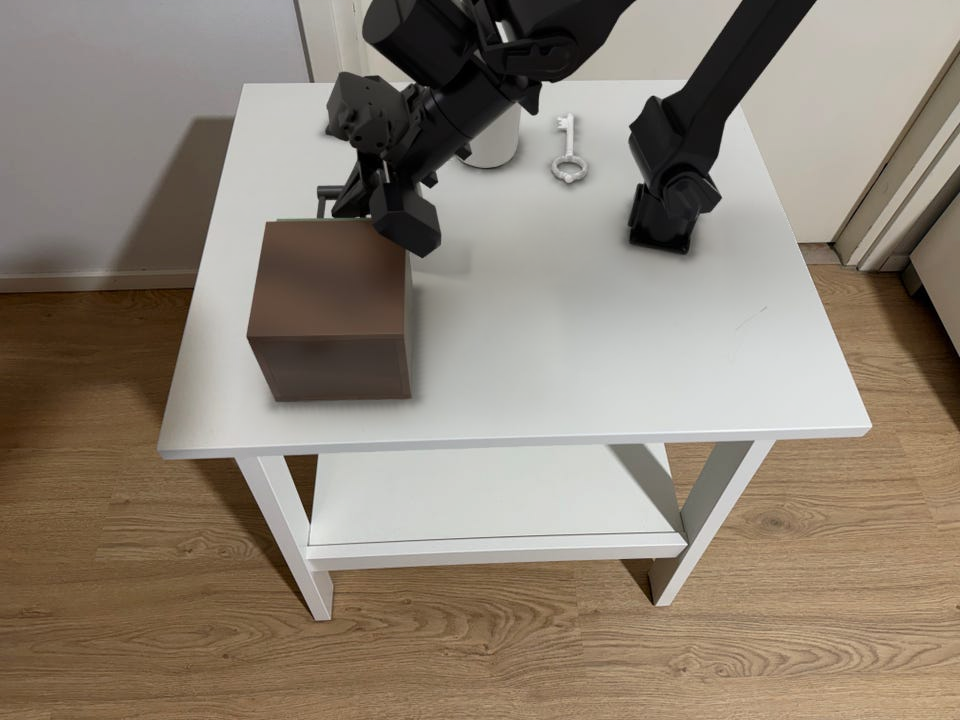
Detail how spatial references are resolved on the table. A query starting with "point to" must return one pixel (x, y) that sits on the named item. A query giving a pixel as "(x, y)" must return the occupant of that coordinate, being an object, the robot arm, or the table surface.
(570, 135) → the key
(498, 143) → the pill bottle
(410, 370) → the cabinet
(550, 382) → the table surface
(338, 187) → the drawer
